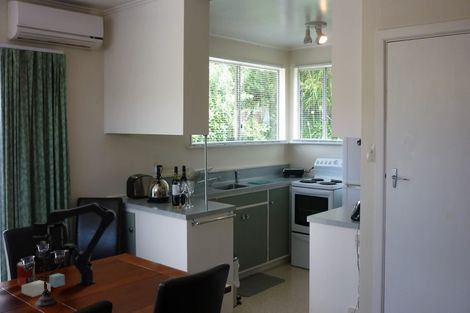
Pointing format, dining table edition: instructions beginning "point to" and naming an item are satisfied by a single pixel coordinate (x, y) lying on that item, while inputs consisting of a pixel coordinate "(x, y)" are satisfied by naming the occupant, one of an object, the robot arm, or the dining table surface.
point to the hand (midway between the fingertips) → (57, 267)
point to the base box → (35, 288)
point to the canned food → (25, 275)
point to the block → (57, 280)
